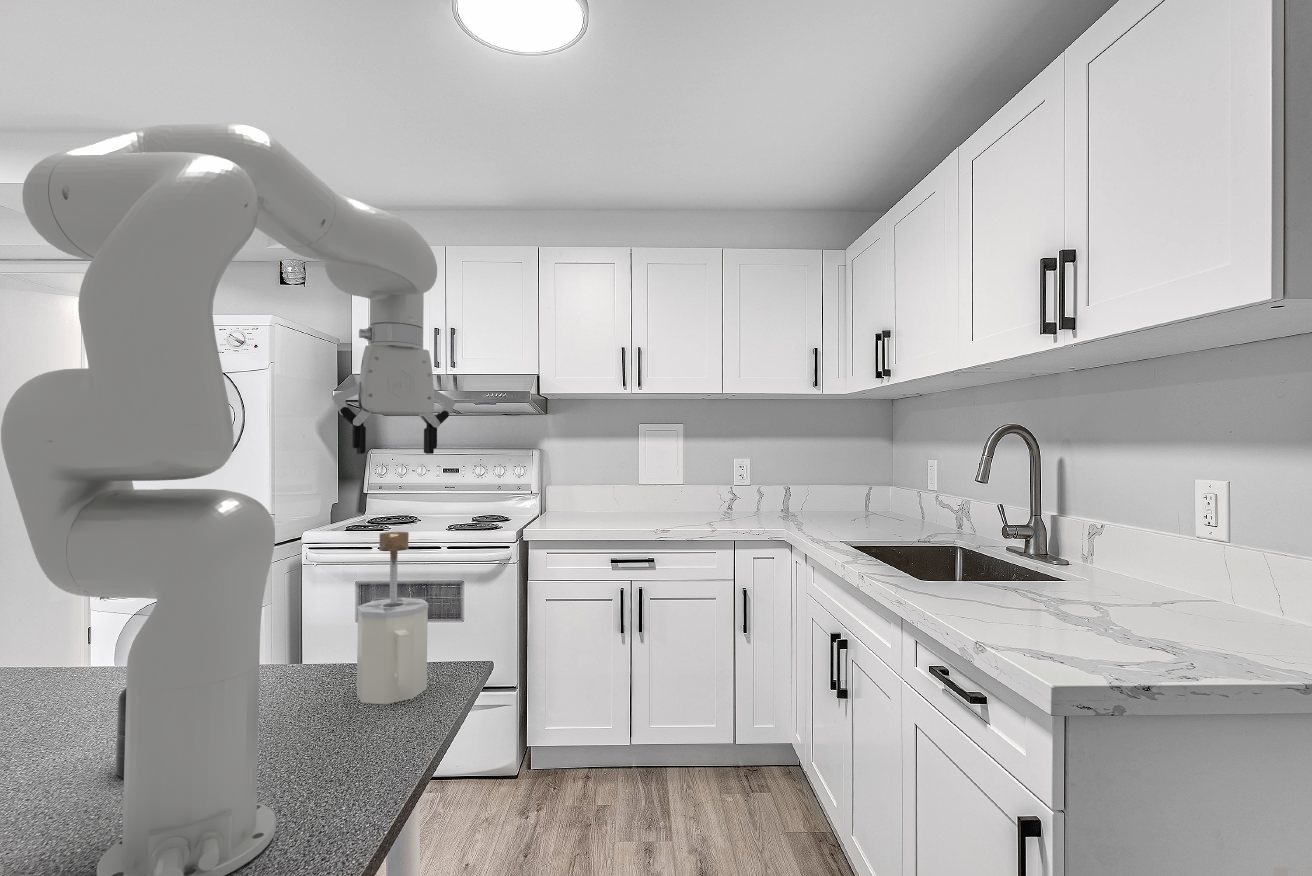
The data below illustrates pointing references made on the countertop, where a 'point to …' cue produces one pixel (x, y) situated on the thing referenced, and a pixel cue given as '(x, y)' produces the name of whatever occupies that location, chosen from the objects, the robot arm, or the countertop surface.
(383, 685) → the press pot
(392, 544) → the plunger
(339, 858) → the countertop surface
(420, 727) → the countertop surface
